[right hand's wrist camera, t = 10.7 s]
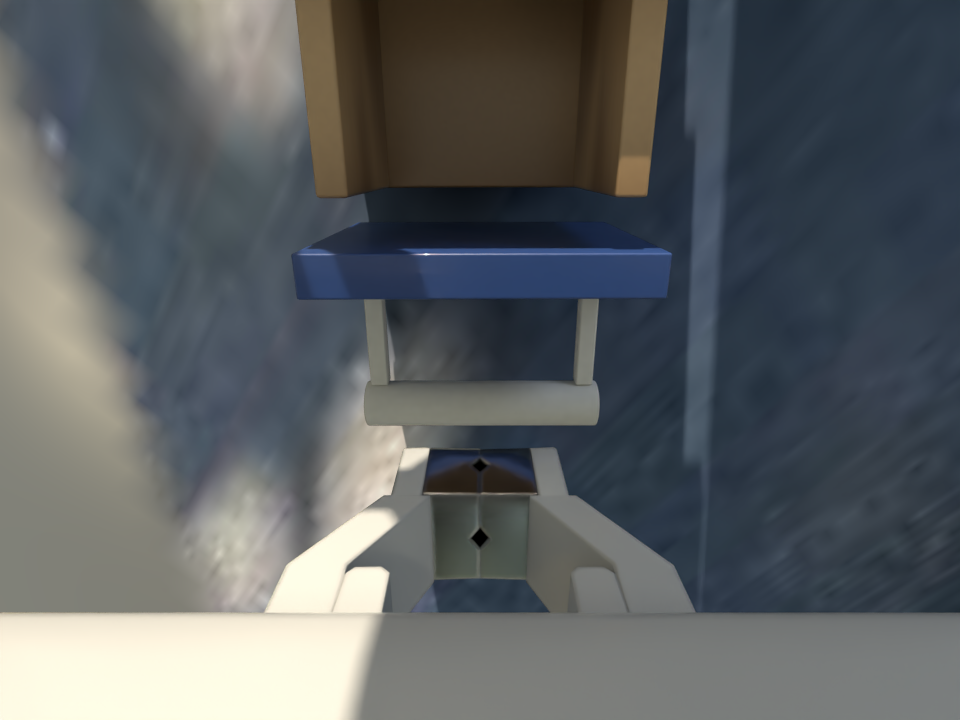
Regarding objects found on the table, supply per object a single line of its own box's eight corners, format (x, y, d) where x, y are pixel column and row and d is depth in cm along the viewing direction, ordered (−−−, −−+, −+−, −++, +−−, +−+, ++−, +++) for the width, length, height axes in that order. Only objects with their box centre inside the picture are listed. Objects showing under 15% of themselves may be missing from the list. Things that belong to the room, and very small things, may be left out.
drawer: (592, 382, 23) (643, 483, 15) (370, 383, 23) (320, 484, 15) (659, -453, 14) (845, -1097, 7) (301, -451, 14) (115, -1092, 7)
